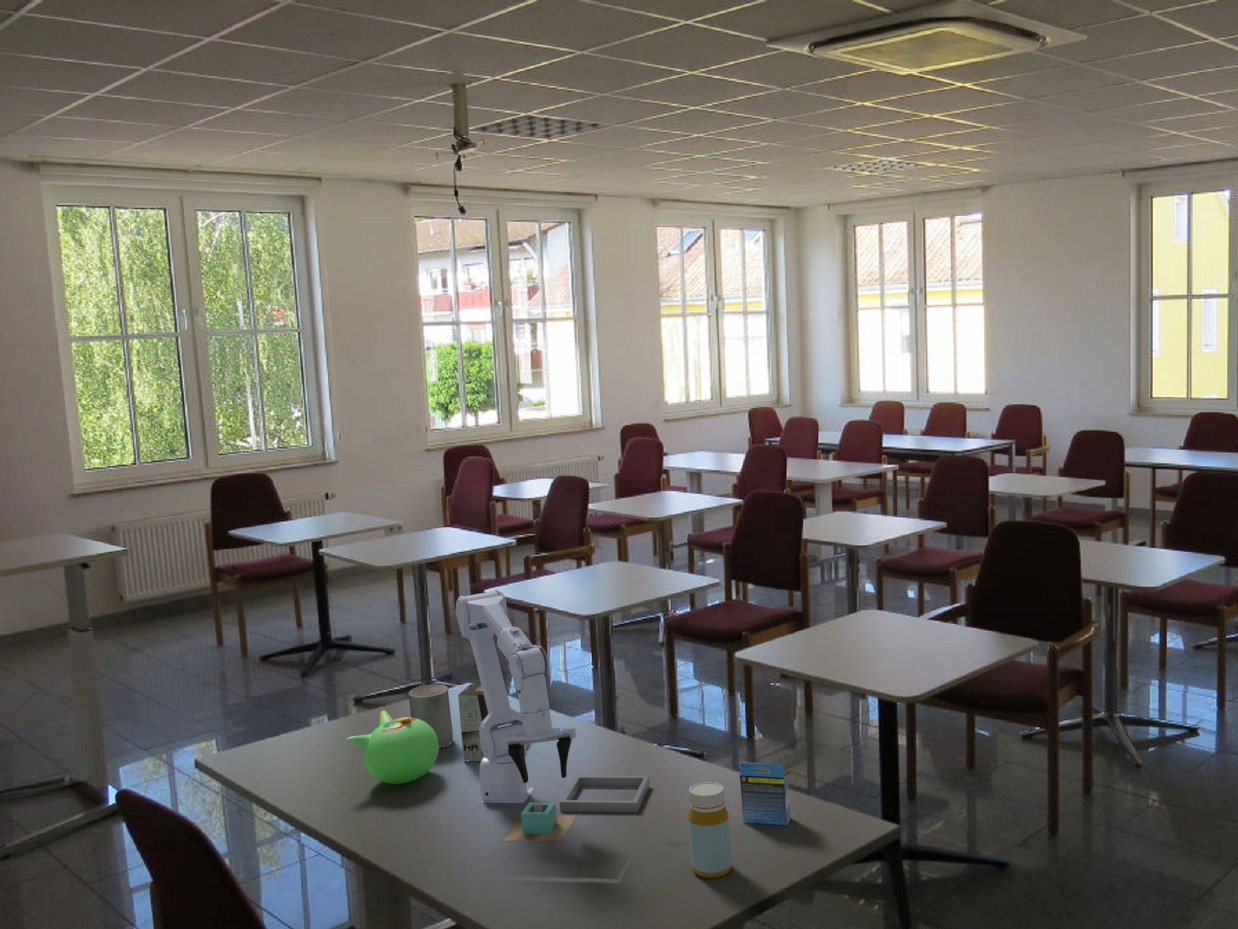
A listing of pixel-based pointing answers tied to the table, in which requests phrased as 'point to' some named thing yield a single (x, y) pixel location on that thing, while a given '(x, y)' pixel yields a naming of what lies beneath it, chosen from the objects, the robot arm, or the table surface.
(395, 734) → the toy bird
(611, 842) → the table surface
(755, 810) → the label tape box
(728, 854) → the bottle
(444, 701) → the pillar candle
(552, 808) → the teal hollow block
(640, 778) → the tray
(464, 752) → the coffee box
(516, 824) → the stake board
